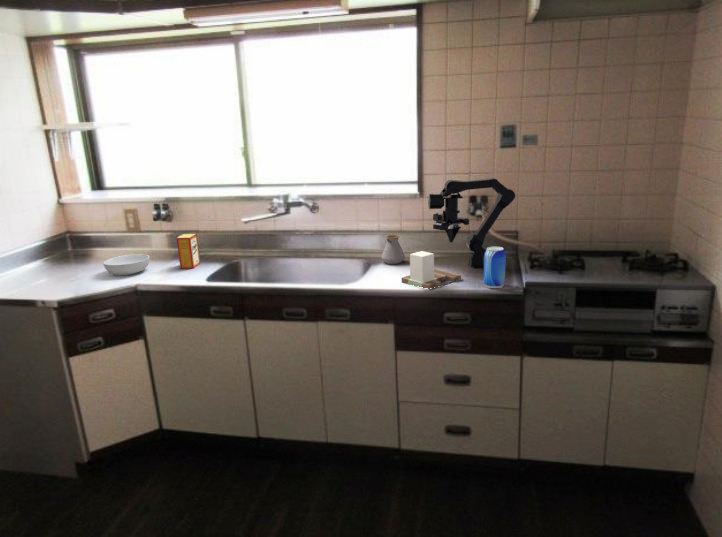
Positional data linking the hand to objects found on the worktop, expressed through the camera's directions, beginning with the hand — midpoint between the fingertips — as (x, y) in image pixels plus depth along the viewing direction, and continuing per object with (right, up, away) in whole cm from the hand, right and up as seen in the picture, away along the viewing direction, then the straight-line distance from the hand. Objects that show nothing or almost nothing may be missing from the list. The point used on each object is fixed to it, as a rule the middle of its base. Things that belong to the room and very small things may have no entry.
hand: (451, 242), depth 244 cm
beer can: (+13, -20, -27) cm, 35 cm away
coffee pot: (-27, -11, +11) cm, 31 cm away
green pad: (-15, -18, -19) cm, 31 cm away
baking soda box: (-127, -11, +23) cm, 129 cm away
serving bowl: (-155, -14, +16) cm, 156 cm away
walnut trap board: (-11, -17, -16) cm, 26 cm away
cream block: (-16, -17, -20) cm, 30 cm away
